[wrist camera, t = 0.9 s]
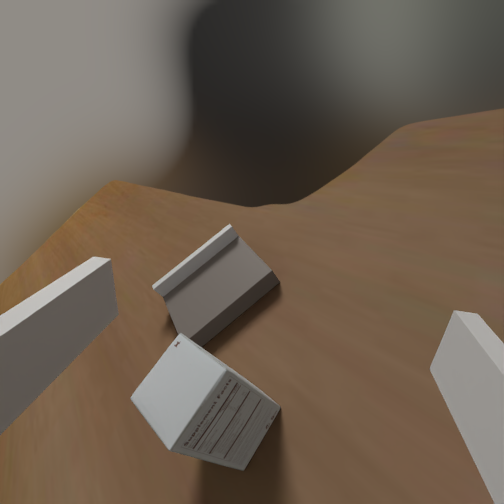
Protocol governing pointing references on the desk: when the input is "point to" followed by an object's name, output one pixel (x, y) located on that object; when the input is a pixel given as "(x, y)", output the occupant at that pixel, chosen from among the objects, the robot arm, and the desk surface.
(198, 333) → the shelf board
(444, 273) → the desk surface
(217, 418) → the supplement box
